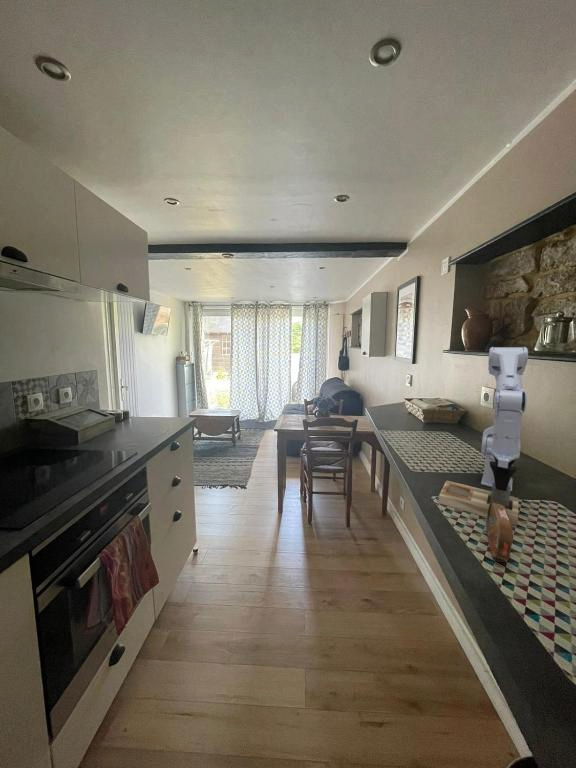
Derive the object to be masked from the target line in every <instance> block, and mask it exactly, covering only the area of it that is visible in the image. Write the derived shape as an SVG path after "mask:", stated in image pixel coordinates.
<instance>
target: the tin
mask: <svg viewBox="0 0 576 768" xmlns="http://www.w3.org/2000/svg"><path fill="white" fill-rule="evenodd" d="M489 504H490V505H489V509H488V515H487V517H486V536H487V541H488V545H489V550H490V554H491V557H492V558H497V559H498V560H499V559H501V560H504V561H508V560H509V559H510V557H511V555H510V554H511V550H512V547H513V543H514V542H513V541H514V530H513V529H514V528H513V525H512V524H511V521H510V518H509V516H508V513H507V510H506V508H505V506H503V505H500V504H496V503H493V502H491V503H489Z"/></svg>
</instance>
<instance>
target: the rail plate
mask: <svg viewBox="0 0 576 768" xmlns="http://www.w3.org/2000/svg"><path fill="white" fill-rule="evenodd" d="M491 491H492V490H491ZM491 491H490V490H487V489H483V488H477V487H475V486H474V487H473V486H471V485H467V484H463V483H458V482H455V481H454V482H453V481H450V480H446V481H445V482H444V485H443V487H442V489H441V491H440V493H439V494H438V504H440V505H443V506H446V507H450V508H453V509H454V508H455V509H457V510H461V511H464V512H467V513H470V514H474V515H478V516H481V517H484V518H487V515H488V509H489V505H490V502H491ZM506 510H507V513H508V516H509V518H510V521H511V524H512V526H516V527H517V526H518V521H519V497H515V496H511V495H510V499H509V509H506Z"/></svg>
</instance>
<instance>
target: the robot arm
mask: <svg viewBox="0 0 576 768" xmlns="http://www.w3.org/2000/svg"><path fill="white" fill-rule="evenodd" d="M528 359H529V348H527V347H526V346H522V347H518V346H517V347H509V346H507V347H503V346H502V347H495V346H492V347H490V348H489V352H488V363H487V364H488V370H487V371H488V374H490V375H492V376H494V378H495V383H496V384H495V385H496V387H495V388H496V389H495V392H494V397H493V410H494V413H493V425H492V426H489V427H487V428H486V429H484V431H482V438H481V439H482V441H481V449H480V450H481V453H482V454H483V455H484V457H485V458H484V459H485V460H484V471H483V474H482V477H481V482H480V485H483V486H487V487H490V488H492V484H493V482H495V487H496V489H498V490H502V491H506V489H507V487H508V486H511V488H510V492H512V491H513V478H512V477H513V475H514V474H515V473H516V472H517V470H518V469H517V468H518V467H516V466H513V464H514V463H515V461H517V460H518V459H519V458H520V456H521V429H522V420H523V414H524V413H525V412H526V407H527V398H528V397H527V393H526V390H525V389H524V388H523V380H522V378H523V377H522V375H524V372H525V371H526V367H527V365H528Z"/></svg>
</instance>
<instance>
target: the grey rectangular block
mask: <svg viewBox="0 0 576 768" xmlns="http://www.w3.org/2000/svg"><path fill="white" fill-rule="evenodd" d="M510 488H511V486H508V487H507V489H506V491H502V490H498V489H496V487H495V482H493V484H492V487H491V502H493V503H496V504H500V505H503V506H505V508H506V509H509V499H510V496H511V491H510ZM491 502H490V503H491ZM490 503H489V504H490ZM509 510H510V509H509Z"/></svg>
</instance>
